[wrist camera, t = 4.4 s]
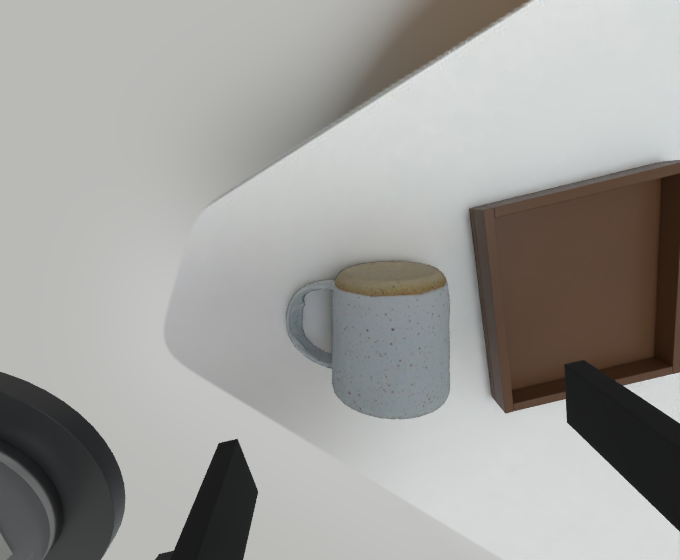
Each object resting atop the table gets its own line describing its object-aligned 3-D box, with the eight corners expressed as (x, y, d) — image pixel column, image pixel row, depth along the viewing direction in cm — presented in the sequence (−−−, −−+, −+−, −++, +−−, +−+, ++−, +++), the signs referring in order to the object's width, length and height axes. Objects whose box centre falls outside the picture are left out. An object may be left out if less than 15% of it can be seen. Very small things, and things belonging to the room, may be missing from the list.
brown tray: (491, 396, 27) (505, 413, 25) (469, 208, 23) (483, 210, 21) (654, 358, 27) (681, 372, 25) (663, 161, 23) (696, 158, 21)
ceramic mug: (429, 252, 24) (476, 282, 16) (428, 354, 26) (468, 420, 18) (283, 262, 23) (262, 297, 16) (294, 364, 26) (281, 435, 18)
